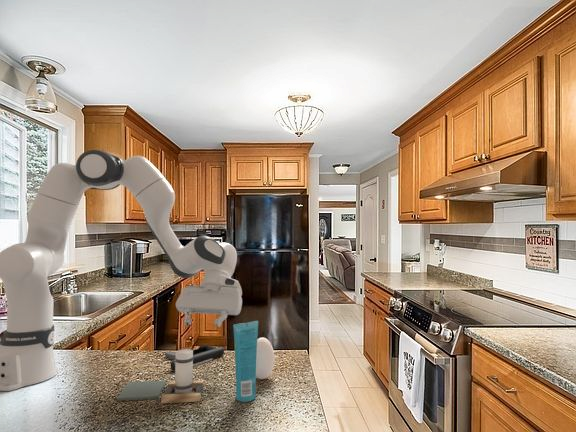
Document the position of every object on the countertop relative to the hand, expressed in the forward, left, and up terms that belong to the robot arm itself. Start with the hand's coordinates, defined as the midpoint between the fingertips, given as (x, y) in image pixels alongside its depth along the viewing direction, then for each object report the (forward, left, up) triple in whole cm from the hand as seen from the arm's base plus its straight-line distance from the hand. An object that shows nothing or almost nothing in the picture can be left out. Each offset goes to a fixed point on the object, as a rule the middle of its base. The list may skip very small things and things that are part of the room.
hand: (201, 324), depth 108 cm
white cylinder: (-3, -10, -15) cm, 19 cm away
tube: (+13, -14, -15) cm, 25 cm away
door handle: (-6, +17, -16) cm, 24 cm away
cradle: (-3, -10, -15) cm, 19 cm away
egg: (+18, -2, -15) cm, 24 cm away
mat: (-14, -7, -15) cm, 22 cm away
